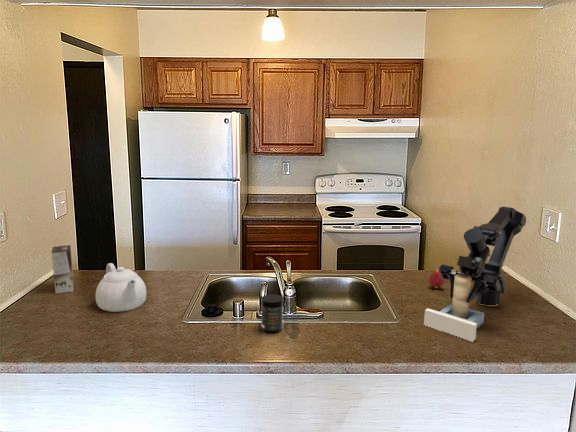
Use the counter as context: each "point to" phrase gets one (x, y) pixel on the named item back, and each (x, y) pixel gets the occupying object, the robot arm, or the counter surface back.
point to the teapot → (120, 290)
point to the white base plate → (450, 324)
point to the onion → (436, 279)
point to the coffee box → (62, 269)
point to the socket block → (472, 315)
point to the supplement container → (272, 313)
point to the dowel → (461, 296)
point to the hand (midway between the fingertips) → (459, 300)
